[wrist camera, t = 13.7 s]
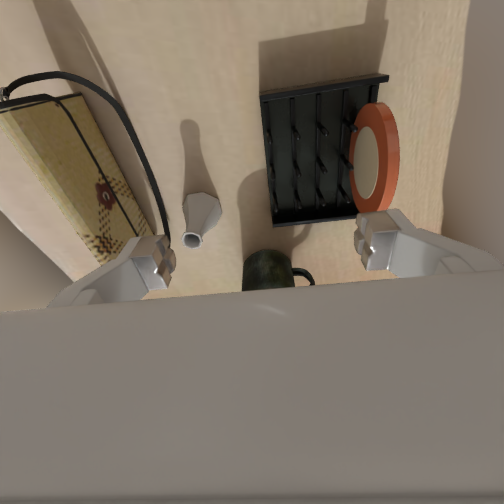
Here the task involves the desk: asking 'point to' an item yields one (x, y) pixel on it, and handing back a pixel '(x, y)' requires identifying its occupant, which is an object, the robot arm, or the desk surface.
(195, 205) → the flask
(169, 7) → the desk surface
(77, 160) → the clutch purse
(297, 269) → the mug
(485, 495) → the robot arm
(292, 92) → the rack
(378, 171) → the plate
